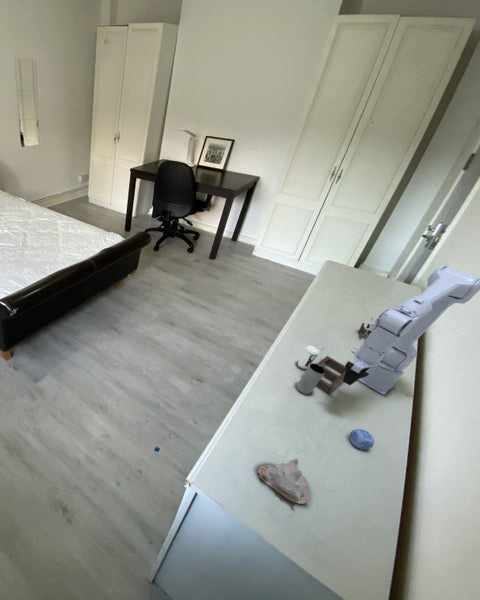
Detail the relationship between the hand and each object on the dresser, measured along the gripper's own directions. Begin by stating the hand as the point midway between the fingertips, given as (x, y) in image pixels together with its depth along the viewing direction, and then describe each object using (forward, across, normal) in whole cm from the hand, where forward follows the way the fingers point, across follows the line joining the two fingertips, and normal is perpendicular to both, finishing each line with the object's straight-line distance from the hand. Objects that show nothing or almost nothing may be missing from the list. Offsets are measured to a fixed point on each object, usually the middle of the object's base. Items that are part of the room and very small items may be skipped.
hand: (351, 377), depth 102 cm
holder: (+10, -8, -6) cm, 15 cm away
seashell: (+11, +43, +5) cm, 45 cm away
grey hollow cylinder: (+11, +5, -8) cm, 14 cm away
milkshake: (+11, -6, -14) cm, 18 cm away
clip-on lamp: (+11, -52, -6) cm, 53 cm away
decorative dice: (+11, +12, +11) cm, 19 cm away
